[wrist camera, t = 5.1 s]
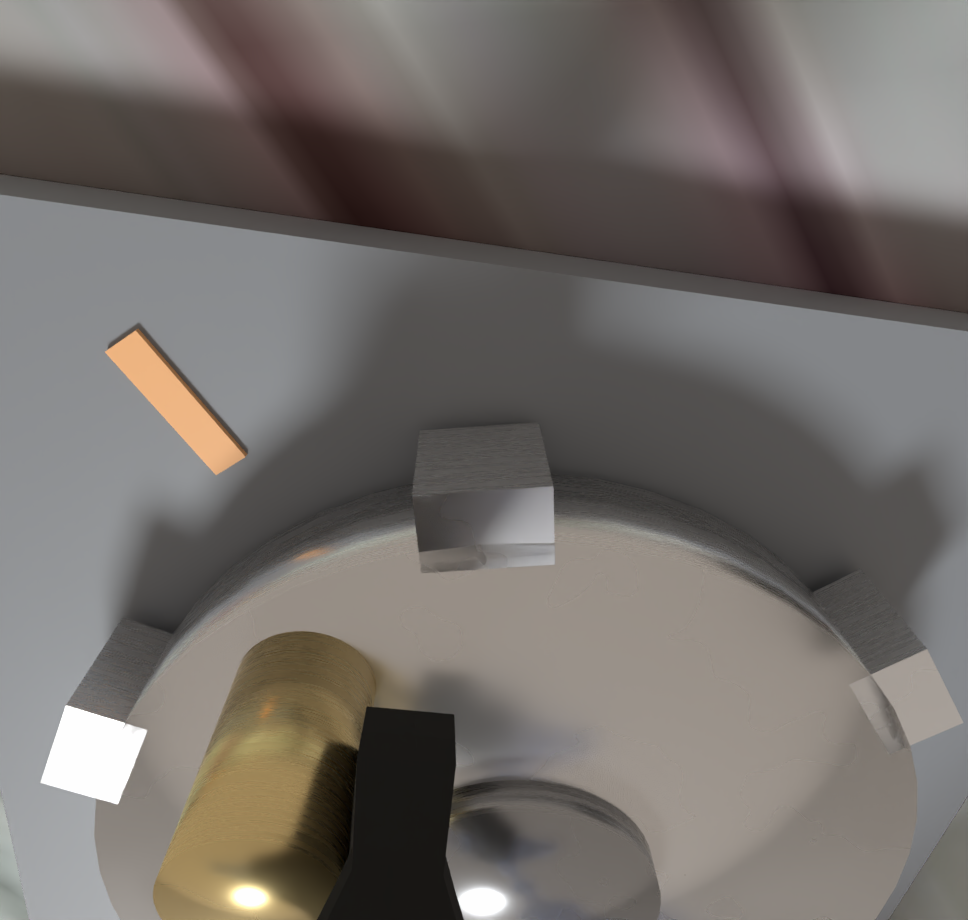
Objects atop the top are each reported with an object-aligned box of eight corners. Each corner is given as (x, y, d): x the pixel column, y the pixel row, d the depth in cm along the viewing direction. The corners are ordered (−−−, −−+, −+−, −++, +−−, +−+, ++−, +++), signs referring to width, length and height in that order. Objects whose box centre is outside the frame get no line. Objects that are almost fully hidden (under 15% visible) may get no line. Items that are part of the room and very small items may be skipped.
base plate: (782, 990, 21) (805, 1055, 20) (78, 952, 20) (48, 1020, 18) (1157, 341, 13) (1247, 372, 11) (-61, 165, 11) (-141, 176, 9)
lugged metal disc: (992, 826, 16) (1219, 1139, 11) (402, 1056, 19) (383, 1365, 14) (699, 254, 10) (907, 396, 5) (-59, 731, 13) (-333, 1065, 9)
